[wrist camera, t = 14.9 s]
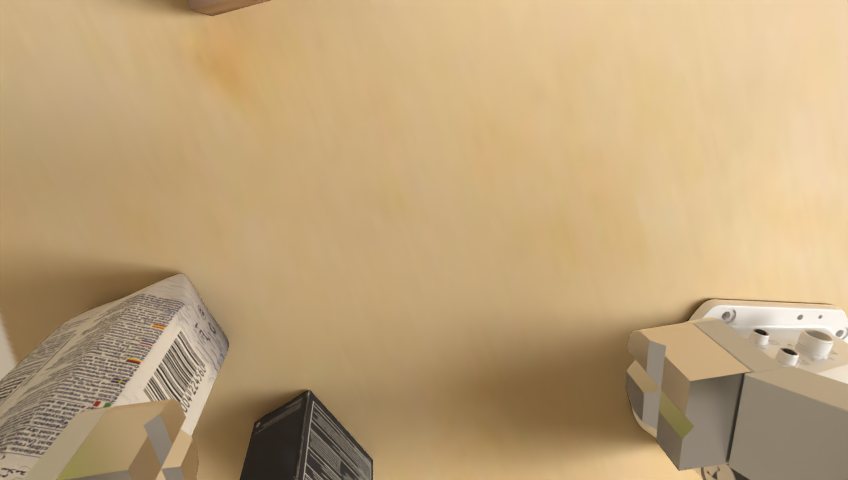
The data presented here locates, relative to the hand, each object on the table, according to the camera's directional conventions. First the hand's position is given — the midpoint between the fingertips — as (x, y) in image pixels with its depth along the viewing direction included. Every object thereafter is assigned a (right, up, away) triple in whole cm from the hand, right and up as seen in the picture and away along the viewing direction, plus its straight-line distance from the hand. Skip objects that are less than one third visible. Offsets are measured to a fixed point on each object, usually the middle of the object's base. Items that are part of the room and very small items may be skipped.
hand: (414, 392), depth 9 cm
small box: (-10, -16, +36) cm, 41 cm away
